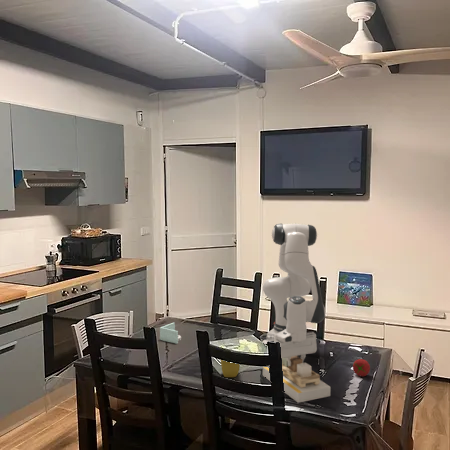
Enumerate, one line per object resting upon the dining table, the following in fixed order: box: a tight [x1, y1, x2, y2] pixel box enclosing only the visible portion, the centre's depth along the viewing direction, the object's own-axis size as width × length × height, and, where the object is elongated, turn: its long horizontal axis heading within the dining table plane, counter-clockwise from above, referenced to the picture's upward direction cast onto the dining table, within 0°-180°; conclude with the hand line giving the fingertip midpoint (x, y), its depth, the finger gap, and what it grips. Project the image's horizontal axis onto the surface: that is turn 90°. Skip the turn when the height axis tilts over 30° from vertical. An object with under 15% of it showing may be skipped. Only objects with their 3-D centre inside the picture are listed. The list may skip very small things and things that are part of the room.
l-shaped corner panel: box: [159, 322, 182, 345], centre depth 278 cm, size 12×12×8 cm
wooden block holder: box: [282, 356, 321, 388], centre depth 218 cm, size 24×9×8 cm, turn 24°
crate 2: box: [297, 362, 312, 378], centre depth 211 cm, size 4×4×4 cm
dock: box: [262, 366, 332, 404], centre depth 218 cm, size 30×16×4 cm, turn 24°
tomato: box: [352, 358, 371, 378], centre depth 229 cm, size 8×8×8 cm
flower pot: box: [220, 359, 241, 378], centre depth 228 cm, size 9×9×9 cm
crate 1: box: [282, 358, 288, 367], centre depth 223 cm, size 4×4×4 cm
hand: (295, 364), depth 217 cm, fingers closed on wooden block holder, 4 cm apart
